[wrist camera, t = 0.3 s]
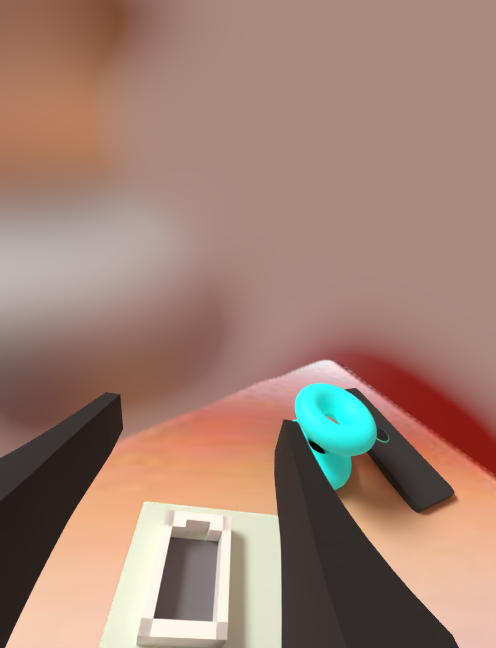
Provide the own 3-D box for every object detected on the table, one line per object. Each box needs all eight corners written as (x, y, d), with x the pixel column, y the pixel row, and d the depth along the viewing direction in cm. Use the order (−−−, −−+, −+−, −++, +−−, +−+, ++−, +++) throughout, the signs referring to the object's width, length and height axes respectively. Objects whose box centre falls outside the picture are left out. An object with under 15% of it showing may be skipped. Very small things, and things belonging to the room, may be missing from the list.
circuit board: (318, 960, 12) (324, 966, 12) (-10, 1001, 10) (-15, 1008, 10) (275, 519, 28) (277, 515, 27) (144, 505, 26) (144, 501, 26)
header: (221, 648, 19) (227, 639, 18) (136, 644, 18) (137, 635, 17) (227, 527, 25) (231, 516, 24) (164, 521, 25) (166, 509, 24)
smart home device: (357, 387, 50) (457, 491, 35) (353, 393, 51) (450, 498, 36) (324, 391, 47) (420, 509, 31) (321, 398, 48) (412, 516, 32)
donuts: (393, 419, 31) (358, 462, 25) (358, 467, 36) (320, 514, 29) (326, 370, 37) (283, 394, 30) (303, 417, 42) (261, 447, 35)
